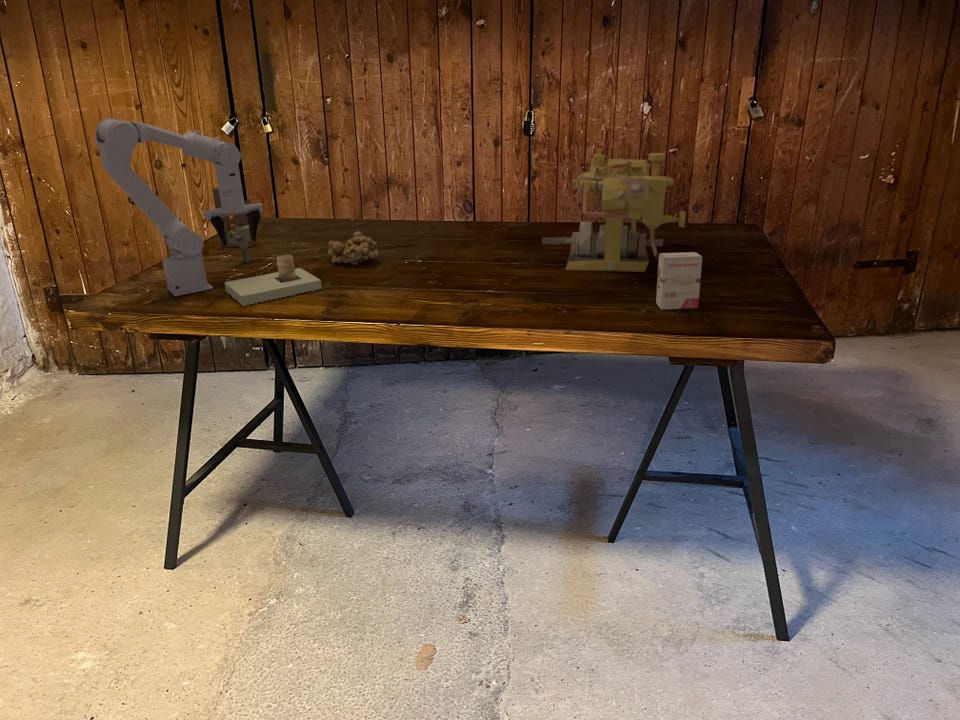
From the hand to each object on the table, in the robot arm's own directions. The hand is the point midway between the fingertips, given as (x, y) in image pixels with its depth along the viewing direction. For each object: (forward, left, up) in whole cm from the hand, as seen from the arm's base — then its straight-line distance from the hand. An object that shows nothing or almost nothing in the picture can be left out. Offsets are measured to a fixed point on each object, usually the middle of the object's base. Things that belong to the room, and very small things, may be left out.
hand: (239, 242), depth 189 cm
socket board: (+2, -17, -9) cm, 20 cm away
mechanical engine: (+83, -53, -10) cm, 99 cm away
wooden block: (+9, +35, -10) cm, 37 cm away
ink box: (+71, -87, -10) cm, 113 cm away
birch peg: (+6, -17, -9) cm, 20 cm away
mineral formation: (+30, -7, -10) cm, 32 cm away
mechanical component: (+5, +14, -10) cm, 18 cm away
